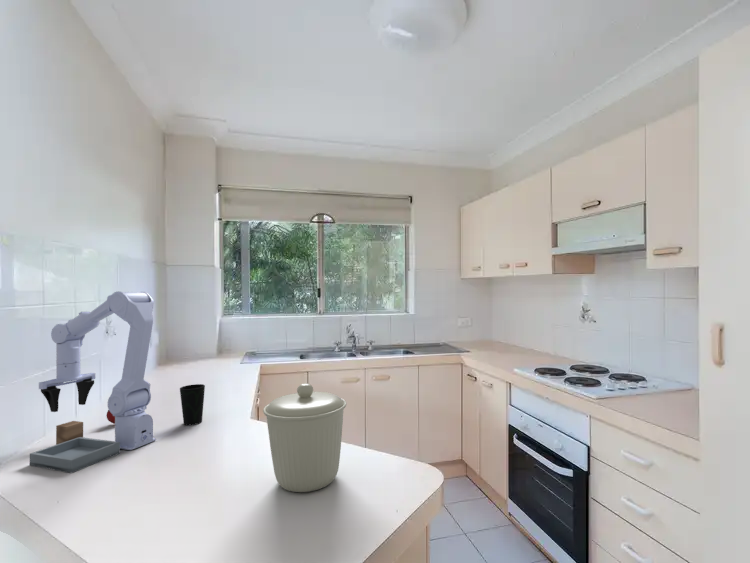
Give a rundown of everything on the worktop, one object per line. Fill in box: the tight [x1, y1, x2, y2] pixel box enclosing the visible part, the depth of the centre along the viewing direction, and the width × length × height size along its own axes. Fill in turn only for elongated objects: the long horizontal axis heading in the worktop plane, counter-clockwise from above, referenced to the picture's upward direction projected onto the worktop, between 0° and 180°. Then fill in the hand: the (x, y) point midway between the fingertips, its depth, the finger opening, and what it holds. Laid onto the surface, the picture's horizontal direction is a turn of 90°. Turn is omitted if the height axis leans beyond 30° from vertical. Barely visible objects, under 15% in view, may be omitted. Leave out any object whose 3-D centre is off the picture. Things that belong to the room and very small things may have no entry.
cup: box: [179, 383, 206, 426], centre depth 127 cm, size 8×8×12 cm
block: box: [55, 420, 84, 445], centre depth 111 cm, size 4×4×6 cm
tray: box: [29, 436, 121, 474], centre depth 99 cm, size 16×12×3 cm
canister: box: [262, 383, 347, 493], centre depth 83 cm, size 18×18×21 cm
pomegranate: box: [105, 409, 115, 425], centre depth 128 cm, size 6×6×8 cm
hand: (68, 407), depth 115 cm, fingers open, 7 cm apart
